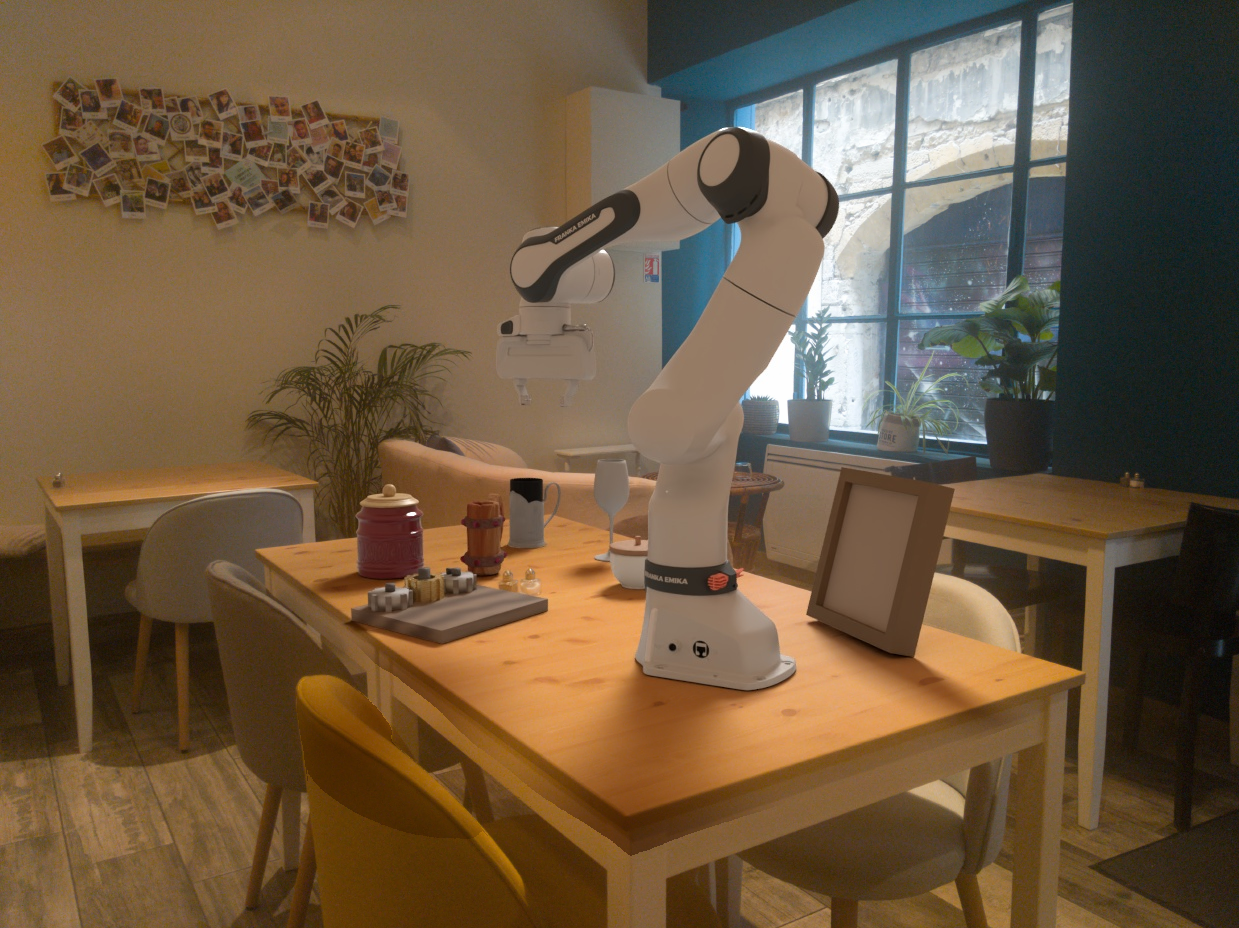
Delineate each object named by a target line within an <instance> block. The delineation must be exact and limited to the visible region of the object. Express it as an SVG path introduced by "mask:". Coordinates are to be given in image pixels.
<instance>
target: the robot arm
mask: <svg viewBox="0 0 1239 928" xmlns="http://www.w3.org/2000/svg"><path fill="white" fill-rule="evenodd" d="M839 198H840V197H839V195H838V192H837V190H836V189H835V187H834V186H833V184H832V183H831V181H829V179H828V178H827V177H826V176H825V175H823V173H821V172H819V171H816V170H815V169H814V168H813V167H812V166H810V165H809V164H807V163H806V162H805V161H804V160H802V159H801V158H800V157H798V156H797V154H796V153H795V152H794V151H792V150H790V149H789V148H787V147H785V146H784V145H781V144H779V143H777V142H775V141H773V140H771V139H768V138H766V137H765V136H764V135H763V134H762V133H761V132H758V131H756V130H754V129H753V130H752V129H750V128H746V127H742V126H731V127H723V128H720V129H718V130H716V131H713V132H712V133H709V134H707V135H706V136H704V137H702V138H700V139H699V140H696V141H695V142H694V143H692V144H690V145H689V146H686V147H685V148H684V149H682V150H681V151H679V153H677V154H676V155H675V156H673V157H672V158H671V159H669V160H668V161H667V162H666V163H664V164H662V165H661V166H659V167H658V168H657V169H656V170H654V171H653V172H651V173H649V174H648V175H646V176H645V177H642V178H641V179H639V180H638V181H636V182H635V183H633V184H631V185H629V186H627V187H625V188H623V189H620V190H619V191H617V192H615V193H613V194H611V195H608V196H607V197H605V198H603V199H601V200H599V201H598V202H596V203H595V204H593V205H591V206H589V207H588V208H586V209H585V210H584V211H581V212H580V213H579V214H577V215H576V216H574V217H572V218H571V219H569V220H568V221H566V222H565V223H563V224H562V225H560V226H552V225H551V226H544V227H543V226H542V227H541V226H540V227H536V228H533V229H531V230H528V232H526V233H525V234H524V235H523V238H522V241H521V244H519V246H518V247H517V248H516V250H515V252H514V253H513V256H512V257H511V261H510V264H509V274H510V279H511V283H512V284H513V286H514V289H515V290H516V291H517V292H518V295H520V296H521V298H520V300H519V304H518V311H519V312H518V314H516V315H514V316H512V317H510V318H508V319H506V320H504V321H502V322H499V323H498V324H497V325H496V334H497V336H498V337H499V339H498V340H497V342H496V348H495V349H496V350H495V370H496V374H497V376H498V377H499V378H500V379H506V380H507V379H511V380H512V381H513V383H512V386H513V388H514V390H515V392H516V393H517V395H518V405H519V406H531V405H532V395H531V394H528V390H527V388H526V386H527V385H528V380H563V381H564V383H563V384H564V387H566V389H565V392H564V394H563V395H562V396H559V401H560V402H559V406H560V407H562V408H572V407H573V406H574V396H575V394H576V393H577V390H578V388H579V386H580V385H579V384H580V383H579V381H583V380H584V381H585V380H586V381H591V380H592V381H593V379H594V378H595V376H596V375H597V372H598V370H597V358H596V351H595V344H594V342H595V341H594V340H595V339H594V338H595V336H594V332H593V331H592V329H591V328H590V327H589V326H587V324H581V323H580V324H571V323H572V320H571V319H572V316H571V315H572V310H571V308H572V306H571V304H580V305H581V304H582V305H592V304H597V303H601V302H603V301H604V300H606V298H607V297H608V296H609V295H610V293H611V292H612V290H613V287H614V285H615V280H616V268H615V264H614V260H613V258H612V257H611V254H609V252H608V251H607V250H605V249H607V248H610V247H613V246H617V245H620V244H628V243H641V242H643V243H646V242H647V243H648V242H650V243H651V242H652V243H653V242H654V243H657V242H658V243H660V242H661V243H665V242H666V243H672V242H679V241H682V240H685V239H687V238H690V237H693V236H695V235H697V234H698V233H701V232H703V231H705V230H706V229H708V228H709V227H710V226H711V225H713V224H714V223H716V222H717V221H718V220H719V219H722V221H723V222H724V224H727V225H731V224H736V223H737V225H738V227H739V230H740V242H739V246H738V248H737V251H736V253H735V255H734V256H733V258H732V260H731V262H730V263H729V265H728V266H727V268H726V270H725V272H724V274H723V276H722V278H721V279H720V281H719V283H718V285H717V286H716V287H715V290H714V291H713V293H712V295H711V297H710V299H709V300H708V302H707V304H706V306H705V308H704V309H703V311H702V313H701V315H700V317H699V318H698V320H697V322H696V324H695V325H694V327H693V328H692V331H690V333H689V335H688V336H687V337H686V339H685V340H684V341H683V342H682V344H681V345H680V346H679V348H678V349H677V350H676V351H675V353H674V354H673V355H672V356H671V358H670V359H669V360H668V362H667V363H666V364H665V366H664V367H663V368H662V370H661V371H660V372H659V374H658V375H657V377H656V378H655V380H654V381H653V382H652V383H651V385H650V386H649V387H648V388H647V389H646V390H645V391H644V392H643V393H642V394H641V395H640V396H638V398H637V399H636V400H635V401H634V402H633V404H632V406H631V408H630V410H629V413H628V415H627V423H626V424H627V425H626V426H627V434H628V437H629V440H630V442H631V444H632V445H633V447H634V448H635V450H636V451H637V452H638V453H639V454H641V456H643V457H644V458H646V459H648V460H650V461H653V462H656V463H659V469H658V474H657V477H656V482H655V485H654V489H653V492H652V494H651V496H650V498H649V501H648V505H647V511H648V512H647V540H648V557H647V558H646V559H645V569H644V584H645V589H644V591H645V604H644V605H645V606H644V607H645V608H644V613H643V614H644V615H643V622H642V627H641V631H640V636H639V642H638V646H637V649H636V651H635V654H634V658H635V660H636V661H637V663H639V664H640V665H641V666H642V672H643V673H644V674H645V675H647V676H653V677H660V678H666V679H671V680H678V681H685V682H691V683H697V684H701V685H702V684H703V685H709V686H716V687H724V688H729V689H734V690H735V689H736V690H741V691H742V690H743V691H752V690H757V689H758V690H760V689H764V688H767V687H771V686H774V685H776V684H779V683H780V682H782V681H784V680H787V679H788V678H790V677H791V676H793V674H794V673H795V672H796V670H797V664H796V663H797V662H796V659H795V658H794V657H793V656H789V655H786V654H782V653H781V648H780V640H779V634H778V629H777V627H776V624H775V622H774V621H773V620H772V619H771V618H770V616H768V615H766V614H765V613H764V612H763V611H762V610H761V609H760V608H759V606H757V605H756V604H754V603H753V602H752V600H750V598H748V597H747V596H746V595H745V594H744V593H743V592H742V591H741V590H740V589H739V588H738V587H739V585H738V582H737V581H738V580H737V579H738V578H740V577H744V575H745V574H744V573H743V574H741V573H742V572H743V571H744V570H745V569H744V567H741V568H738V569H735V568H733V566H732V564H731V561H729V559H728V522H729V520H728V519H729V518H728V517H729V516H728V514H729V503H730V495H731V494H730V493H731V488H732V484H733V477H734V472H735V466H736V460H737V454H738V453H737V452H738V446H739V440H740V435H741V432H742V430H743V427H744V422H745V414H744V409H743V407H742V404H741V401H740V400H741V399H742V398H743V396H744V395H745V393H747V391H749V389H750V387H751V386H752V385H753V384H754V382H755V381H756V380H757V379H758V378H759V377H760V376H761V374H763V372H765V370H766V369H767V368H768V367H769V364H770V362H771V361H772V359H773V358H774V356H775V354H776V352H777V350H778V349H779V347H780V345H781V343H782V342H783V341H784V339H785V337H786V336H787V333H788V332H789V330H790V328H791V326H792V325H793V323H794V322H795V320H796V318H797V316H798V315H799V313H800V311H801V309H802V307H803V305H804V303H805V301H806V299H807V298H808V295H809V294H810V291H811V290H812V287H813V285H814V282H815V280H816V277H817V275H818V272H819V270H820V266H821V264H822V261H823V258H824V255H825V249H826V247H825V242H824V238H825V237H826V236H827V235H828V234H829V233H830V232H831V230H832V228H833V226H834V225H835V223H836V220H837V218H838V215H839V210H840V200H839Z"/></svg>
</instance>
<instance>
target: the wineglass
mask: <svg viewBox="0 0 1239 928" xmlns="http://www.w3.org/2000/svg"><path fill="white" fill-rule="evenodd" d="M629 478H630V477H629V471H628V465H627V460H625V459H621V458H620V459H619V458H618V459H617V458H604V459H598V460H597V463H596V467H595V473H594V481H593V498H594V501H595V503H596V504H597V506H598V507H599V508H600V509H601V511H603V512H605V514H607V517H608V518H609V519H608V520H609V545H610V544H611V543H614V518H615V515H617V513H619V512H620V511H621V510H622V509H623V508H624V507H625V506H626V504H627V502H628V501H629V497H630V479H629ZM593 558H594V560H597V561H601V562H609V563H610V550H609V549H608V550H607V552H606V553H601V554H597V555H595V556H594V557H593Z"/></svg>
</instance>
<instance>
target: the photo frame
mask: <svg viewBox="0 0 1239 928" xmlns="http://www.w3.org/2000/svg"><path fill="white" fill-rule="evenodd" d="M954 493H955V488H952V487H949V486H945V485H942V484H938V483H933V482H930V481H924V480H918V479H912V478H908V477H907V478H906V477H900V476H895V475H888V474H882V473H878V472H871V471H866V470H860V469H855V468H848V467H843V466H841V467H840V472H839V476H838V481H837V484H836V490H835V493H834V497H833V501H832V506H831V510H830V514H829V518H828V522H827V525H826V531H825V534H824V539H823V543H822V546H821V550H820V551H821V552H820V556H819V559H818V564H817V566H816V567H817V568H816V573H815V576H814V580H813V584H812V588H811V593H810V596H809V597H810V598H809V602H808V605H807V609H806V613H805V615H806V616H808V617H810V618H812V619H814V620H816V621H819V622H821V623H823V624H826V625H828V626H829V627H831V628H834V629H836V630H839V631H840V632H843V633H845V634H847V635H849V636H851V637H854V638H856V639H858V640H861V641H863V642H865V643H867V644H869V645H871V646H874V647H876V648H878V649H880V650H882V651H884V652H887V653H889V654H893V655H894V654H896V655H901V656H906V657H912V658H914V657H915V656H916V651H917V646H918V642H919V638H920V634H921V630H922V625H923V622H924V617H925V613H926V611H927V610H926V609H927V605H928V602H929V598H930V595H931V594H930V593H931V589H932V584H933V581H934V576H935V573H936V572H935V571H936V567H937V564H938V560H939V557H940V556H939V555H940V552H941V549H942V548H941V547H942V544H943V540H944V537H945V536H944V535H945V531H946V527H947V522H948V518H949V515H950V509H951V506H952V502H953V498H954Z"/></svg>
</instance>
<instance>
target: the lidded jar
mask: <svg viewBox="0 0 1239 928" xmlns="http://www.w3.org/2000/svg"><path fill="white" fill-rule="evenodd" d="M634 538H635V539H626V540H618V541H613V543H611V544H610V543H609V546H608V547H609V548H608V550H610V562H609V563H610V568H611V571H612V575H613V576H614V578H615V579H616V581H617V582H619V583H620V584H621V587H623V588H624V589H629V590H645V584H644V569H645V559H646V558H647V557H648V539H642V536H641V535H635V536H634Z"/></svg>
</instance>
